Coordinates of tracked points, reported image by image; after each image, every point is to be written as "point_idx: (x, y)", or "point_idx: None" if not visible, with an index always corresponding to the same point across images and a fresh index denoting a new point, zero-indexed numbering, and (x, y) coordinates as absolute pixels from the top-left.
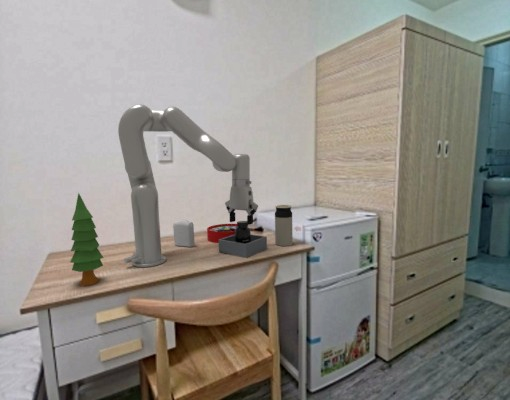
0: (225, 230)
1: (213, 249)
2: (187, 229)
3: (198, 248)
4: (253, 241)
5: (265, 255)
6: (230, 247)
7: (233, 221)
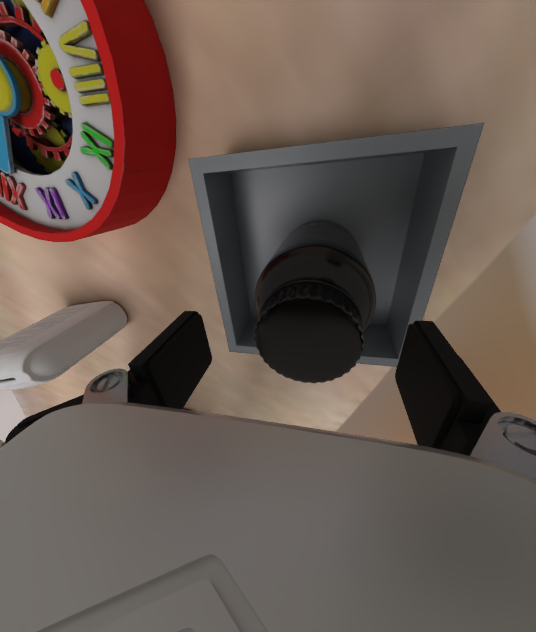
0: (13, 107)
1: (203, 303)
2: (68, 368)
3: (157, 318)
4: (422, 308)
5: (475, 261)
6: None
7: (205, 335)
